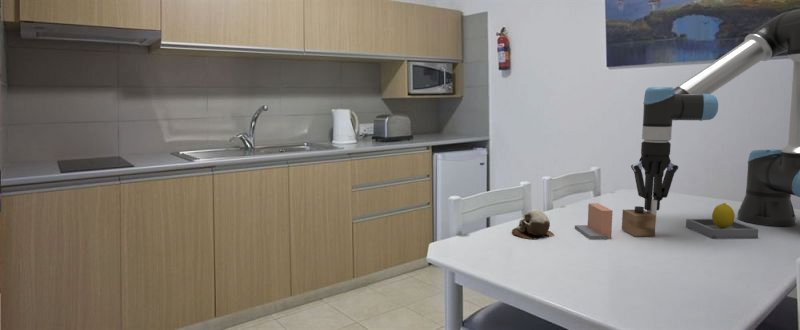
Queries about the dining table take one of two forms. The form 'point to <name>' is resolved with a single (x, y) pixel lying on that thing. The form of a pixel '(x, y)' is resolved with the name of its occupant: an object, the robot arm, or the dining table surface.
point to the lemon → (723, 216)
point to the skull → (533, 225)
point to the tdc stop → (597, 222)
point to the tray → (715, 232)
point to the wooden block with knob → (638, 222)
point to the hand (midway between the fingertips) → (651, 221)
